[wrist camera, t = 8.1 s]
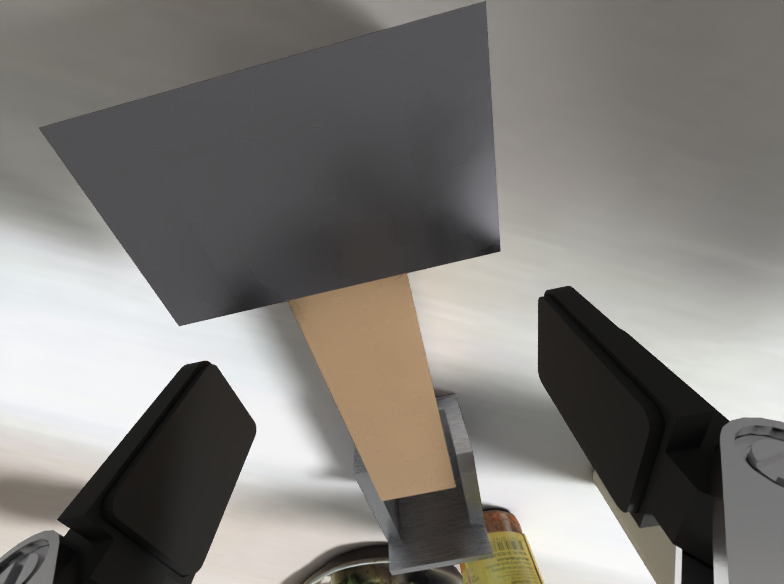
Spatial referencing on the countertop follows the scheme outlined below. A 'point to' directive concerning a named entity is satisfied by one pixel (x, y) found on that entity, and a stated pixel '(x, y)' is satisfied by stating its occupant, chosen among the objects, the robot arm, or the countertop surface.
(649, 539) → the travel mug
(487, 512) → the sauce bottle
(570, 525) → the countertop surface
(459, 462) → the sleeve
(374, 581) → the salad plate
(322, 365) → the wooden bar
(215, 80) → the hammer head
